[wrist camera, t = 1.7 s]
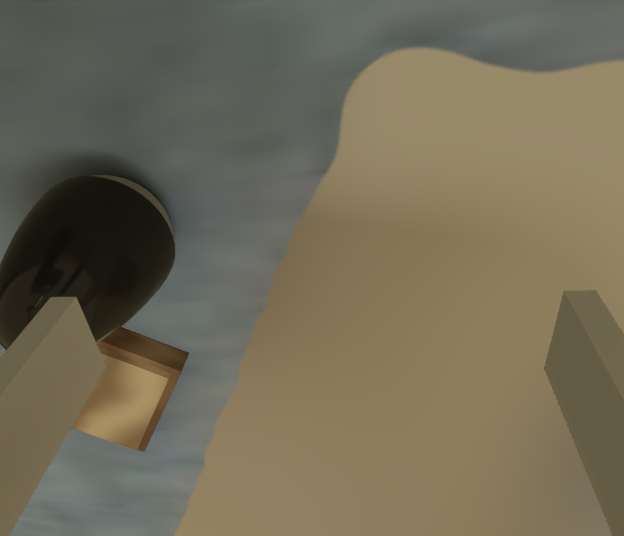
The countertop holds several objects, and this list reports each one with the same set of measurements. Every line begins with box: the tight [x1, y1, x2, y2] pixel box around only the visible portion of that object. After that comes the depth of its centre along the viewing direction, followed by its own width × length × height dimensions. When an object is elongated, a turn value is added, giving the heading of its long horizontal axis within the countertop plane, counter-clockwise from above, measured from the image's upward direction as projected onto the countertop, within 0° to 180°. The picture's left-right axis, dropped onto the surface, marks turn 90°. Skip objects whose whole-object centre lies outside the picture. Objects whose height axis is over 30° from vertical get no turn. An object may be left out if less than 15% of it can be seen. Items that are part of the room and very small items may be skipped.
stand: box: [71, 327, 189, 452], centre depth 50 cm, size 14×14×3 cm
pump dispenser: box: [0, 175, 175, 350], centre depth 34 cm, size 10×10×15 cm
